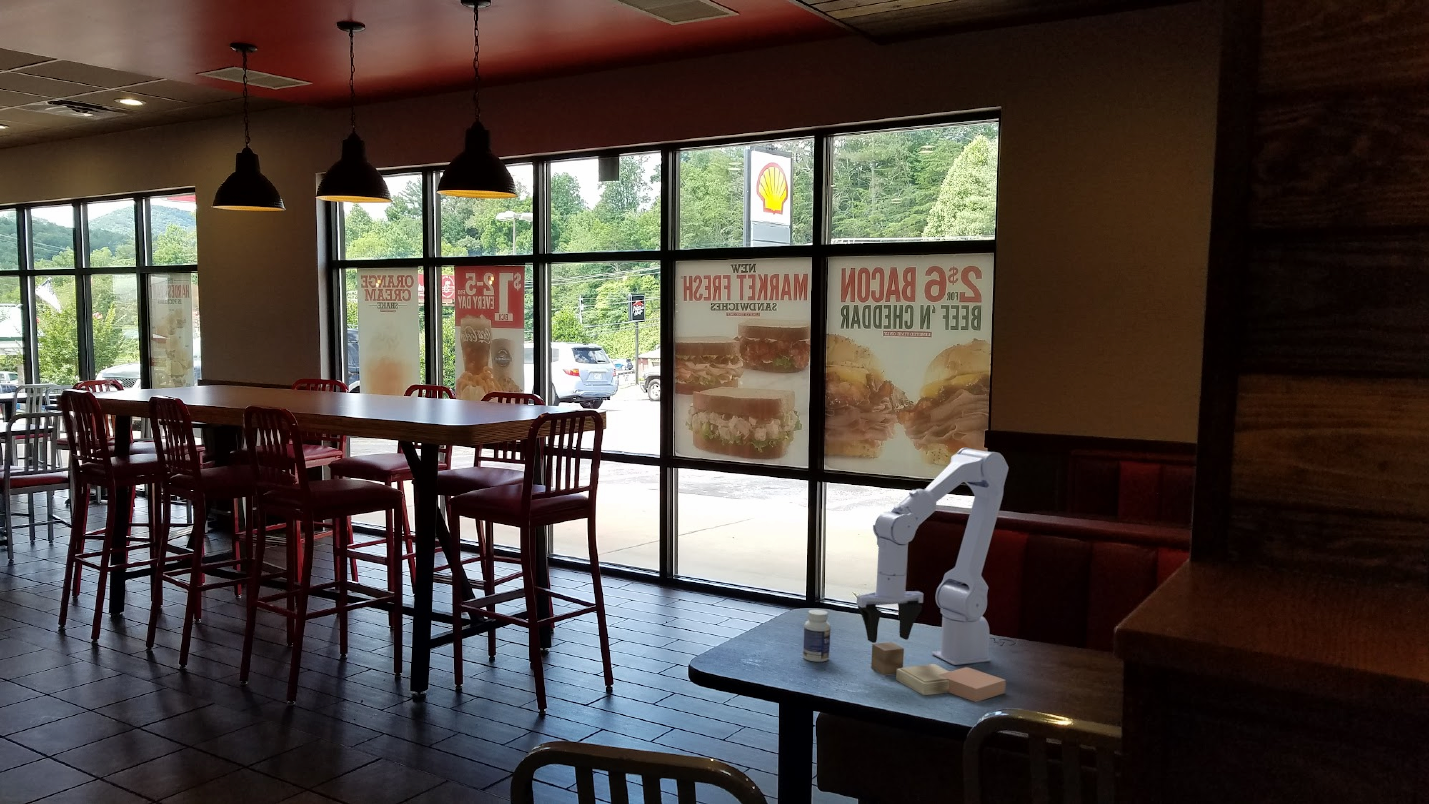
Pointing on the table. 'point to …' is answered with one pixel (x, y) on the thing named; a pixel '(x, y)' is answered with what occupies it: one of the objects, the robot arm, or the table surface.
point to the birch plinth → (924, 679)
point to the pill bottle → (816, 636)
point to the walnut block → (887, 658)
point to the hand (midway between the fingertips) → (888, 639)
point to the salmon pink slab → (974, 684)
